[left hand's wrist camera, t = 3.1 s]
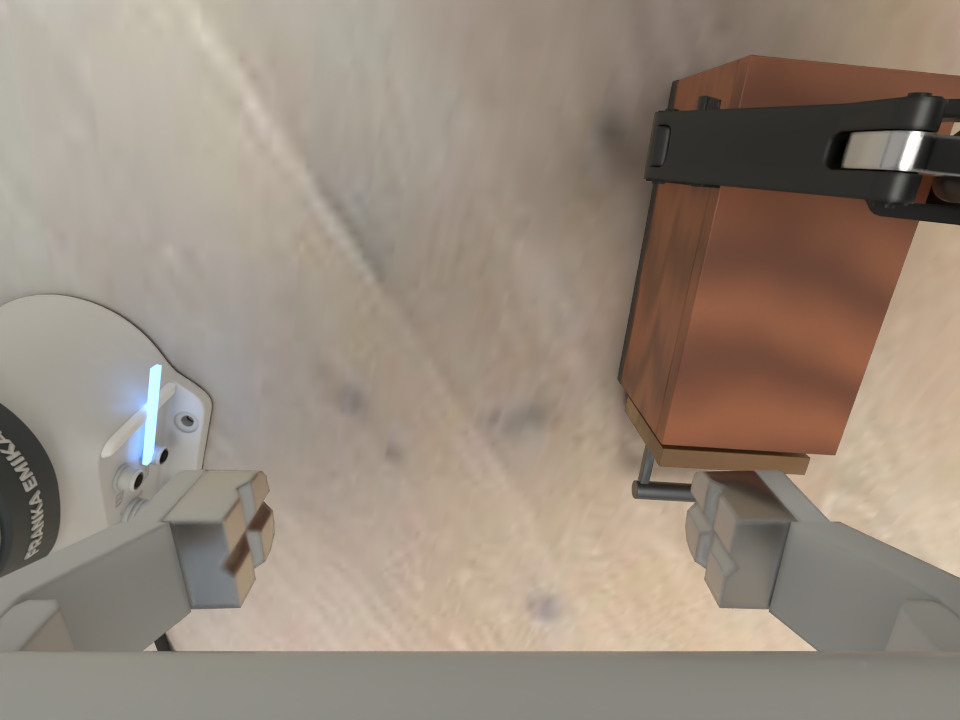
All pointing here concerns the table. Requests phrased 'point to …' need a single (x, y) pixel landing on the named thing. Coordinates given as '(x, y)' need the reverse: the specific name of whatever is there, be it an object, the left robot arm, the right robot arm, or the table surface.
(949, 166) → the right robot arm
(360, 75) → the table surface
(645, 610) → the table surface
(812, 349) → the cabinet
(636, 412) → the drawer
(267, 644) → the table surface
